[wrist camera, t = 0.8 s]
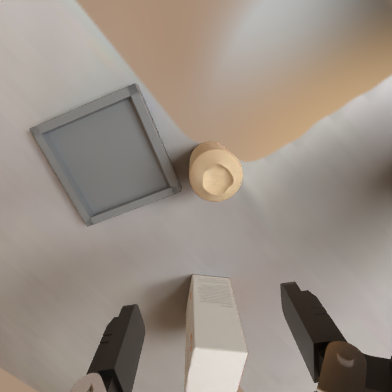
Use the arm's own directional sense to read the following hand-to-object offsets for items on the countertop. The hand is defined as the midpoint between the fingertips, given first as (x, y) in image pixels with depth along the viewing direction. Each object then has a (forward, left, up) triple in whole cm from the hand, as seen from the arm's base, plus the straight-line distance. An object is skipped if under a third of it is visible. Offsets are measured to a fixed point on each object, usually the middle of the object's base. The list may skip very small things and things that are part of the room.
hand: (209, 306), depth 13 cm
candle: (-3, -3, -22) cm, 22 cm away
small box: (+5, +18, -22) cm, 28 cm away
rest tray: (+9, -8, -21) cm, 25 cm away
